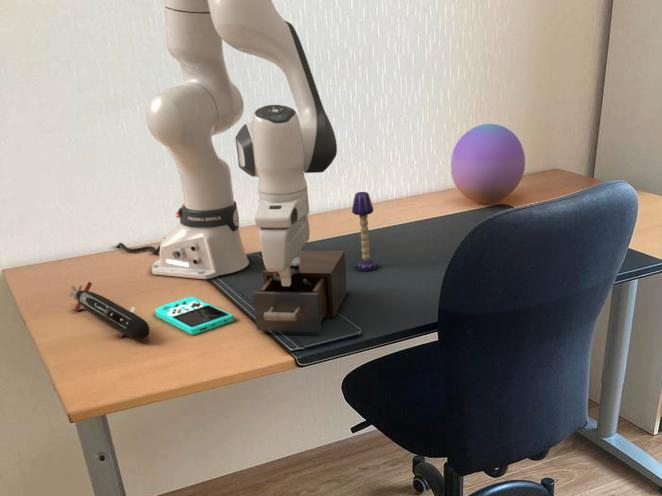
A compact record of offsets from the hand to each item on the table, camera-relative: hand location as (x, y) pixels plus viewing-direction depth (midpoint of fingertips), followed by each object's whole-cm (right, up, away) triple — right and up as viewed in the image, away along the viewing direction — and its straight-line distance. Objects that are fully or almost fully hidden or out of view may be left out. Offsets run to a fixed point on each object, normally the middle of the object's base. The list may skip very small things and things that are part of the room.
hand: (291, 278), depth 158 cm
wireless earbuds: (0, -1, +1) cm, 2 cm away
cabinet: (+2, -2, +14) cm, 14 cm away
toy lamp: (+14, +10, +31) cm, 35 cm away
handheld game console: (-21, -5, +11) cm, 24 cm away
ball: (+48, +39, +73) cm, 95 cm away
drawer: (0, -8, +3) cm, 9 cm away
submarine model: (-38, -7, +10) cm, 40 cm away
